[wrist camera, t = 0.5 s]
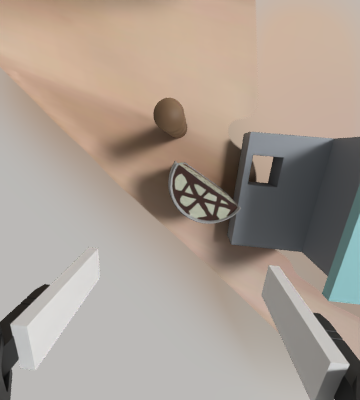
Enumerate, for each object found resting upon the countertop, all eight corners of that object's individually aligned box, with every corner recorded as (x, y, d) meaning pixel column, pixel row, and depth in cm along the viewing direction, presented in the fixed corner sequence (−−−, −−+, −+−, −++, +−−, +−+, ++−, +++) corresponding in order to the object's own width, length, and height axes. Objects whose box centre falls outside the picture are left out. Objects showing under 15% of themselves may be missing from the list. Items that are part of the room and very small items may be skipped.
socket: (244, 133, 34) (288, 120, 18) (323, 140, 33) (439, 133, 18) (227, 235, 39) (250, 292, 24) (295, 242, 39) (366, 305, 23)
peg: (169, 117, 34) (154, 96, 20) (187, 118, 34) (185, 99, 20) (167, 137, 35) (152, 129, 21) (186, 138, 35) (182, 132, 21)
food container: (161, 184, 37) (150, 196, 28) (178, 157, 36) (173, 161, 26) (211, 218, 39) (217, 241, 29) (230, 194, 37) (243, 211, 27)
